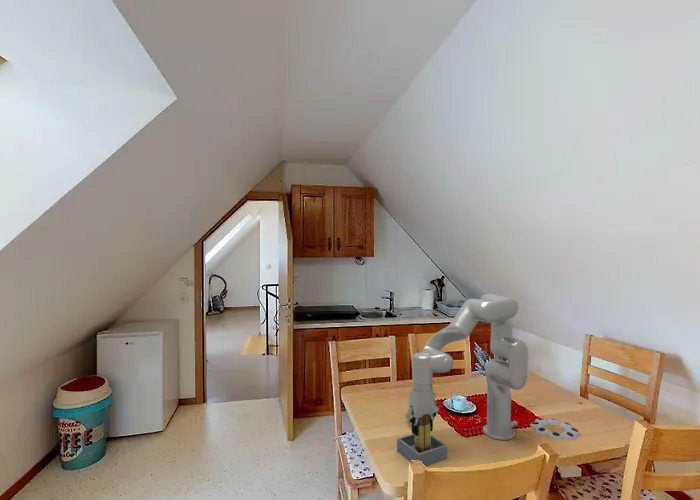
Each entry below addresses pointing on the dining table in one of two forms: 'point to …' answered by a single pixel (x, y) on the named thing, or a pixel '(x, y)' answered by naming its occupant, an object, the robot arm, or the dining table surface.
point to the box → (411, 453)
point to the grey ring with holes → (555, 422)
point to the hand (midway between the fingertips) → (422, 431)
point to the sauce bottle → (423, 434)
